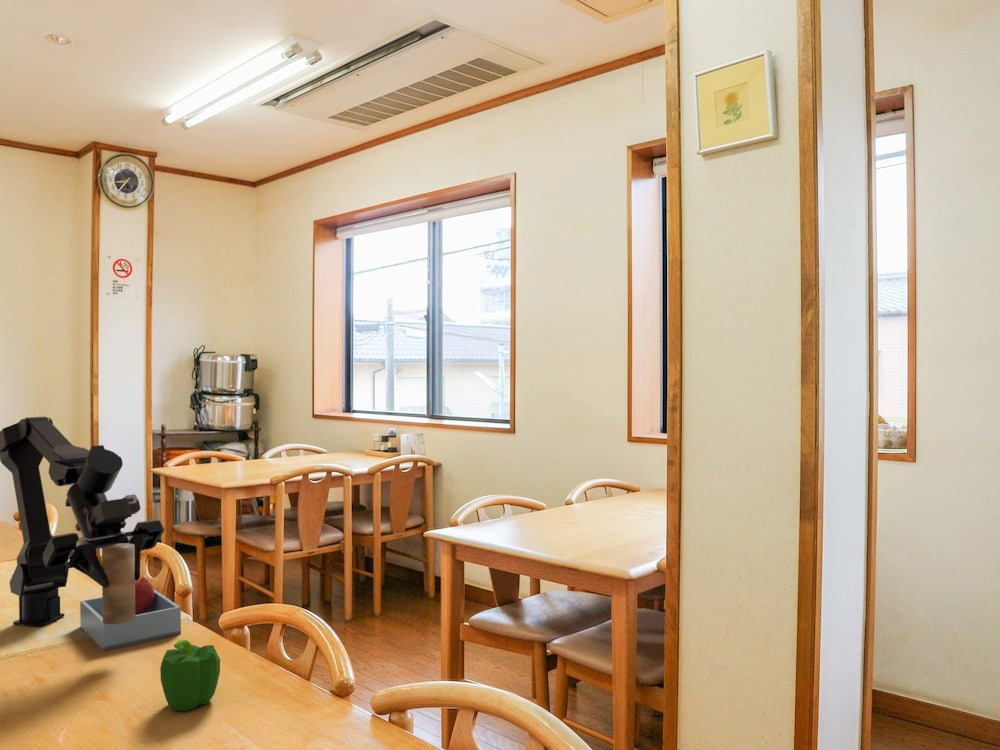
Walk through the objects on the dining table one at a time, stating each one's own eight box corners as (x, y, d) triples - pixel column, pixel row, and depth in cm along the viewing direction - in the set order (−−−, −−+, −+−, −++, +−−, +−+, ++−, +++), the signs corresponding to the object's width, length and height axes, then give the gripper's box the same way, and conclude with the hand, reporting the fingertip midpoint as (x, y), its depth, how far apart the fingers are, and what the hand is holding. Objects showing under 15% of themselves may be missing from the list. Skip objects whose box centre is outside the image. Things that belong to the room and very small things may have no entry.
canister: (96, 623, 131) (95, 549, 131) (116, 613, 136) (115, 542, 136) (122, 625, 130) (121, 550, 130) (141, 615, 135) (140, 543, 135)
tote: (80, 626, 150) (80, 600, 150) (152, 612, 159) (152, 587, 159) (104, 650, 137) (103, 622, 137) (180, 633, 146) (180, 607, 146)
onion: (153, 620, 155) (166, 579, 157) (137, 619, 149) (150, 576, 152) (127, 615, 156) (140, 574, 158) (110, 613, 150) (124, 571, 153)
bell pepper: (201, 687, 121) (200, 623, 121) (230, 701, 116) (229, 634, 116) (147, 706, 115) (146, 638, 114) (176, 722, 109) (175, 651, 109)
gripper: (48, 487, 128) (79, 565, 121) (158, 475, 143) (191, 543, 136) (30, 529, 133) (58, 606, 126) (138, 513, 148) (168, 581, 141)
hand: (122, 582), depth 132 cm, fingers closed on canister, 5 cm apart
